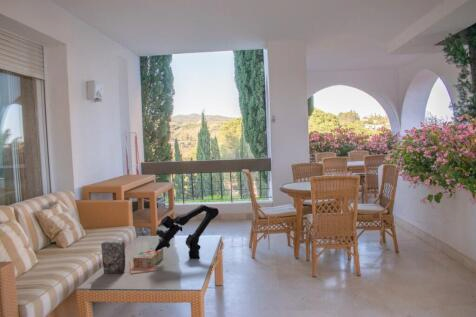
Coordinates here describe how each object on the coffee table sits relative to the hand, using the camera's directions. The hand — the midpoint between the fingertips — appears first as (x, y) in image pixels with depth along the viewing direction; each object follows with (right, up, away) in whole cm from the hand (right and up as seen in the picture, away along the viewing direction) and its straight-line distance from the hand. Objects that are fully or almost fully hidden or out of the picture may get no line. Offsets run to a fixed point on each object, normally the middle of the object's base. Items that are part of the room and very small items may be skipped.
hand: (155, 250), depth 247 cm
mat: (-7, -10, -2) cm, 12 cm away
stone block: (-22, -11, -13) cm, 28 cm away
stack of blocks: (+1, -5, +2) cm, 6 cm away
